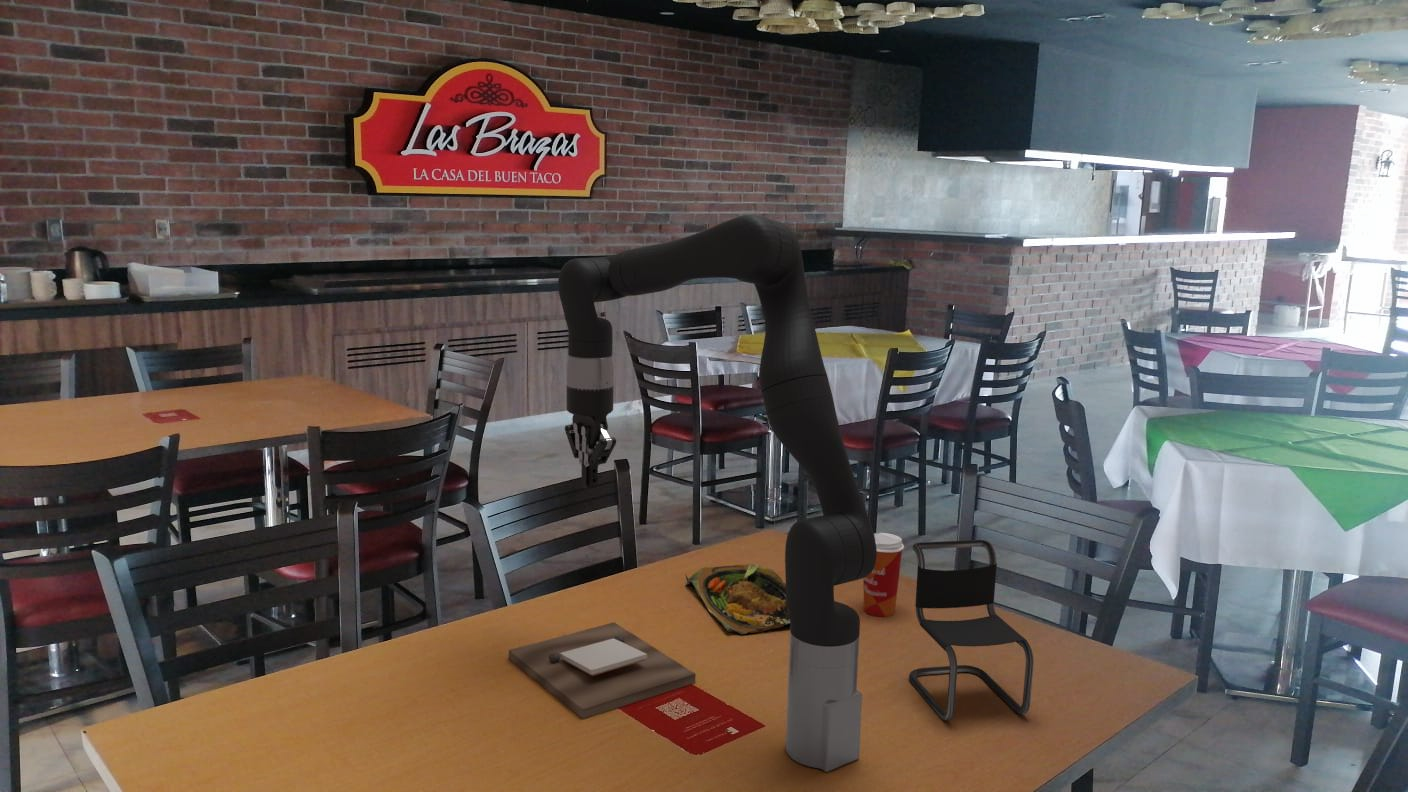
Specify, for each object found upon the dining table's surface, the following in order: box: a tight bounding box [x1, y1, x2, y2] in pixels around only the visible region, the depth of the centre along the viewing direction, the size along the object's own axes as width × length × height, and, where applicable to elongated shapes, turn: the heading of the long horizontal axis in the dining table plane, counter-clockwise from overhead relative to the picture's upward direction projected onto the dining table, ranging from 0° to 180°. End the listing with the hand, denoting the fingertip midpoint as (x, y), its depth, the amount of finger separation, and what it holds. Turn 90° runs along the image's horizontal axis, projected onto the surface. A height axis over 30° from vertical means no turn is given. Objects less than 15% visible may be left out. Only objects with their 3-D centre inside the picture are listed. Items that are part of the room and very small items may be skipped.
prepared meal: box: [684, 563, 790, 635], centre depth 190 cm, size 28×4×18 cm
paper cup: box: [862, 532, 905, 618], centre depth 186 cm, size 8×8×14 cm
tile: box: [560, 638, 647, 676], centre depth 159 cm, size 10×10×1 cm
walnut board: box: [508, 621, 697, 720], centre depth 160 cm, size 24×20×3 cm
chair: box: [908, 539, 1034, 722], centre depth 152 cm, size 13×17×22 cm
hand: (589, 486), depth 166 cm, fingers closed
